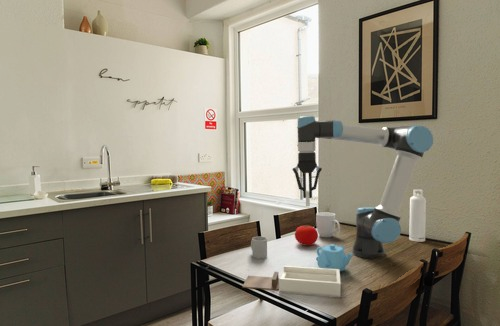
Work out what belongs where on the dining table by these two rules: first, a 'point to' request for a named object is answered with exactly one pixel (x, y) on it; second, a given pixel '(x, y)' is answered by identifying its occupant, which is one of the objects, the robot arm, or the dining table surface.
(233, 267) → the dining table surface
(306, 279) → the lid box
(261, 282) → the cover plate
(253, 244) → the cup
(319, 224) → the mug
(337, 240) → the dining table surface
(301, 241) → the tomato
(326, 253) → the teapot
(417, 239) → the bottle
